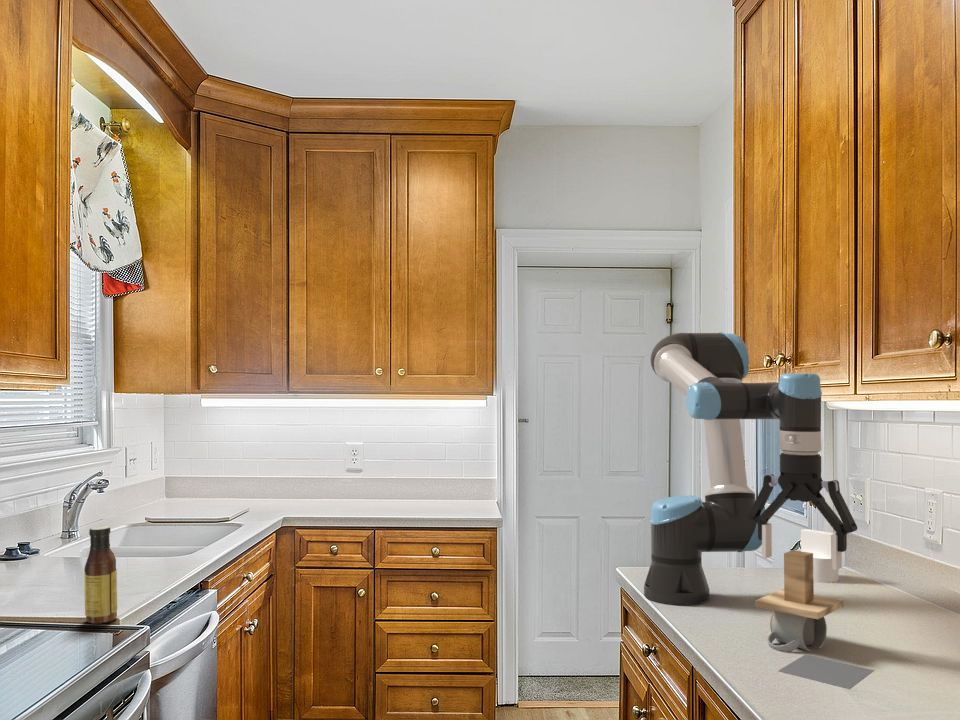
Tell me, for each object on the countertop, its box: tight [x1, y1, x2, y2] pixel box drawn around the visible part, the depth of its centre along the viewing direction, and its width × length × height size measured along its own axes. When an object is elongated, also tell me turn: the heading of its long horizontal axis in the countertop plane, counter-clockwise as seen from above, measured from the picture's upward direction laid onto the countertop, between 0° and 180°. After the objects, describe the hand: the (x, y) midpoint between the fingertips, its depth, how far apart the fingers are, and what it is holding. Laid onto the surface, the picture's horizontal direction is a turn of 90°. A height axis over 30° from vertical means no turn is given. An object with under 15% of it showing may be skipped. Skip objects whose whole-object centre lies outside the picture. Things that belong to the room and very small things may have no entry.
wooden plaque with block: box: [754, 549, 844, 619], centre depth 156 cm, size 12×12×10 cm
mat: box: [777, 654, 875, 690], centre depth 141 cm, size 12×12×1 cm
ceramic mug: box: [766, 610, 828, 653], centre depth 155 cm, size 11×8×8 cm
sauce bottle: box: [83, 525, 118, 625], centre depth 172 cm, size 6×6×20 cm
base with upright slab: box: [800, 528, 839, 584], centre depth 210 cm, size 9×9×12 cm
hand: (800, 562), depth 157 cm, fingers open, 13 cm apart
